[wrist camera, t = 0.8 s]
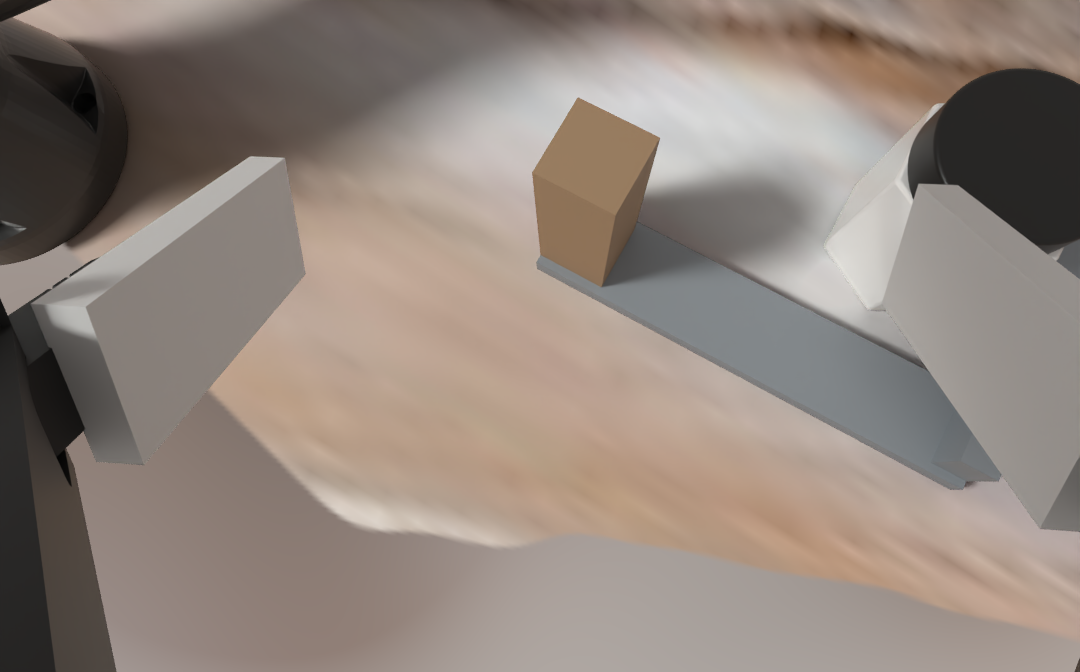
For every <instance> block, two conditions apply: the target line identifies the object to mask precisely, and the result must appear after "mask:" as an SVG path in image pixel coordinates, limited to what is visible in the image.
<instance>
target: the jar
mask: <svg viewBox="0 0 1080 672" xmlns="http://www.w3.org/2000/svg"><path fill="white" fill-rule="evenodd" d="M918 184H940V185H958V186H960V187H961V188H962V189H963V190H965V191H966V192H967V193H969V194H970V195H971V196H972V197H974V198H975V199H976V200H978V201H979V202H980V203H982V204H983V205H984V206H985V207H987V208H988V209H989V210H991V211H992V212H993V213H995V214H996V215H997V216H998V217H1000V218H1001V219H1002V220H1004V221H1005V222H1006V223H1007V224H1009V225H1010V226H1011V227H1013V228H1014V229H1015V230H1017V231H1018V232H1019V233H1020V234H1022V235H1023V236H1024V237H1026V238H1027V239H1028V240H1029V241H1031V242H1032V243H1033V244H1035V245H1036V246H1037V247H1039V248H1040V249H1041V250H1042V251H1044V252H1045V253H1046V254H1048V255H1049V256H1050V257H1051V258H1053V259H1054V260H1055V261H1057V260H1058V259H1059V257H1060V255H1061V253H1062V251H1063V248H1064V247H1065V246H1067V245H1069V244H1071V243H1073V242H1076V241H1078V240H1080V84H1078V83H1076V82H1074V81H1072V80H1070V79H1068V78H1066V77H1063V76H1060V75H1058V74H1055V73H1051V72H1047V71H1042V70H1036V69H1006V70H1000V71H996V72H992V73H988V74H986V75H983V76H981V77H979V78H977V79H975V80H973V81H971V82H969V83H968V84H966V85H965V86H963V87H962V88H961V89H960V90H958V91H957V92H956V93H955V94H954V95H953V96H952V97H951V98H950V99H949V100H948V101H947V102H946V103H937V104H935V105H933V106H932V107H931V108H930V109H929V111H928V112H927V113H926V114H925V115H924V116H923V117H922V118H921V119H920V120H919V121H918V122H917V123H916V124H915V125H914V126H913V127H912V128H911V129H910V130H909V131H908V132H907V133H906V134H905V135H904V136H903V137H902V138H901V139H900V140H899V141H898V142H897V143H896V144H895V145H894V146H893V147H892V148H891V149H890V150H889V151H888V152H887V153H886V154H885V155H884V156H883V157H882V158H881V159H880V160H879V161H878V162H877V163H876V164H875V165H874V167H873V168H872V169H871V170H870V171H869V172H868V173H867V174H866V175H865V176H864V177H863V178H862V179H861V180H860V181H859V182H858V183H857V184H856V185H855V187H854V189H853V190H852V192H851V194H850V196H849V198H848V200H847V202H846V204H845V206H844V207H843V209H842V211H841V213H840V215H839V217H838V219H837V221H836V223H835V224H834V226H833V228H832V230H831V232H830V234H829V236H828V238H827V239H826V241H825V243H824V248H825V250H826V251H827V253H828V254H829V256H830V257H831V258H832V260H833V261H834V263H835V264H836V266H837V267H838V268H839V270H840V271H841V273H842V274H843V276H844V277H845V279H846V280H847V281H848V283H849V284H850V286H851V287H852V289H853V290H854V291H855V293H856V294H857V296H858V297H859V299H860V300H861V301H862V303H863V304H864V306H865V307H866V308H867V309H868V310H871V311H884V310H886V309H885V308H884V307H883V305H882V301H883V298H884V295H885V291H886V288H887V285H888V282H889V278H890V275H891V272H892V268H893V265H894V262H895V259H896V255H897V252H898V249H899V246H900V242H901V239H902V236H903V233H904V229H905V226H906V223H907V220H908V216H909V213H910V210H911V207H912V203H913V200H914V197H915V194H916V190H917V187H918Z"/></svg>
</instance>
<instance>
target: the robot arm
mask: <svg viewBox="0 0 1080 672" xmlns="http://www.w3.org/2000/svg"><path fill="white" fill-rule="evenodd" d="M48 1H51V0H0V265H5V264H11V263H16V262H21V261H24V260H28V259H31V258H34V257H37V256H39V255H41V254H44V253H46V252H48V251H50V250H52V249H54V248H55V247H57V246H59V245H61V244H62V243H64V242H65V241H67V240H68V239H70V238H71V237H73V236H74V235H75V234H76V233H78V232H79V231H80V230H81V229H82V228H83V227H85V226H86V225H87V224H88V223H89V222H90V221H91V220H92V219H93V217H94V216H95V215H96V214H97V213H98V212H99V210H100V209H101V208H102V206H103V205H104V204H105V202H106V201H107V199H108V198H109V196H110V194H111V193H112V191H113V189H114V187H115V185H116V183H117V181H118V178H119V176H120V173H121V170H122V167H123V164H124V159H125V155H126V149H127V123H126V117H125V113H124V109H123V106H122V103H121V100H120V98H119V96H118V94H117V92H116V90H115V88H114V87H113V85H112V84H111V82H110V81H109V80H108V79H107V77H106V76H105V75H104V74H103V73H102V72H101V71H100V70H99V69H98V68H97V67H95V66H94V65H93V64H92V63H91V62H90V61H89V60H88V59H86V58H85V57H84V56H83V55H82V54H81V53H80V52H78V51H77V50H76V49H75V48H73V47H72V46H71V45H69V44H68V43H66V42H65V41H63V40H61V39H60V38H58V37H56V36H54V35H52V34H50V33H48V32H46V31H43V30H41V29H38V28H36V27H34V26H31V25H29V24H26V23H24V22H22V21H19V20H17V19H14V18H12V17H14V16H16V15H18V14H21V13H23V12H25V11H28V10H30V9H32V8H35V7H37V6H39V5H41V4H44V3H46V2H48ZM305 274H306V273H305V268H304V262H303V256H302V251H301V245H300V240H299V234H298V228H297V223H296V217H295V211H294V206H293V200H292V195H291V189H290V183H289V178H288V172H287V167H286V161H285V158H278V157H254V156H250V157H249V158H247V159H246V160H244V161H243V162H241V163H240V164H238V165H237V166H235V167H234V168H232V169H231V170H229V171H228V172H226V173H225V174H223V175H222V176H220V177H219V178H217V179H216V180H214V181H213V182H211V183H210V184H208V185H207V186H205V187H204V188H202V189H201V190H199V191H198V192H196V193H195V194H193V195H192V196H190V197H189V198H187V199H186V200H184V201H183V202H181V203H180V204H178V205H177V206H176V207H174V208H173V209H171V210H170V211H168V212H167V213H165V214H164V215H162V216H161V217H159V218H158V219H156V220H155V221H153V222H152V223H150V224H149V225H147V226H146V227H144V228H143V229H141V230H140V231H138V232H137V233H135V234H134V235H132V236H131V237H129V238H128V239H126V240H125V241H123V242H122V243H120V244H119V245H117V246H116V247H114V248H113V249H111V250H110V251H108V252H107V253H105V254H104V255H103V256H101V257H99V258H96V259H94V260H91V261H90V262H88V263H87V264H85V265H84V266H82V267H81V268H79V269H78V270H76V271H75V272H73V273H72V274H70V278H64V279H63V280H61V281H60V282H58V283H57V284H55V285H54V286H53V289H48V290H46V291H45V292H43V293H42V294H40V295H39V296H37V297H36V298H34V299H33V300H31V301H30V302H28V303H27V304H25V305H24V306H22V307H21V308H19V309H18V310H16V311H15V312H13V313H11V314H10V315H9V316H8V315H7V313H6V311H5V308H4V306H3V304H2V302H1V299H0V672H116V668H115V663H114V658H113V653H112V648H111V643H110V638H109V633H108V629H107V624H106V619H105V614H104V609H103V604H102V600H101V594H100V590H99V585H98V580H97V575H96V570H95V565H94V561H93V556H92V551H91V546H90V542H89V536H88V531H87V527H86V522H85V517H84V512H83V508H82V502H81V497H80V493H79V488H78V483H77V478H76V473H75V468H74V465H73V463H72V461H71V458H70V456H69V454H68V452H67V449H66V447H67V446H68V445H69V444H70V443H71V442H72V441H73V440H74V439H76V438H77V436H78V435H80V434H81V433H82V432H83V431H84V434H85V436H86V438H87V441H88V443H89V446H90V448H91V450H92V453H93V455H94V458H95V460H96V462H108V463H123V464H137V465H145V463H146V462H147V461H148V459H150V457H151V456H152V455H153V454H154V453H155V451H156V450H157V449H158V448H159V447H160V446H161V444H162V443H163V442H164V441H165V440H166V439H167V437H168V436H169V435H170V434H171V433H172V431H173V430H174V429H175V428H176V427H177V426H178V424H179V423H180V422H181V421H182V420H183V418H184V417H185V416H186V415H187V414H188V412H189V411H190V410H191V409H192V408H193V407H194V405H195V404H196V403H197V402H198V401H199V400H200V398H201V397H202V396H203V395H204V394H205V392H206V391H207V390H208V389H209V388H210V387H211V385H212V384H213V383H214V382H215V381H216V379H217V378H218V377H219V376H220V375H221V374H222V372H223V371H224V370H225V369H226V368H227V366H228V365H229V364H230V363H231V362H232V361H233V359H234V358H235V357H236V356H237V355H238V353H239V352H240V351H241V350H242V349H243V347H244V346H245V345H246V344H247V343H248V342H249V340H250V339H251V338H252V337H253V336H254V334H255V333H256V332H257V331H258V330H259V329H260V327H261V326H262V325H263V324H264V323H265V321H266V320H267V319H268V318H269V317H270V316H271V314H272V313H273V312H274V311H275V310H276V308H277V307H278V306H279V305H280V304H281V303H282V301H283V300H284V299H285V298H286V297H287V295H288V294H289V293H290V292H291V291H292V290H293V288H294V287H295V286H296V285H297V284H298V282H299V281H300V280H301V279H302V278H303V277H304V275H305ZM882 305H883V307H884V308H885V309H886V311H887V312H888V314H889V315H890V316H891V318H892V319H893V321H894V322H895V324H896V325H897V326H898V328H899V329H900V331H901V332H902V334H903V335H904V336H905V338H906V339H907V341H908V342H909V344H910V345H911V346H912V348H913V349H914V351H915V352H916V353H917V355H918V356H919V358H920V359H921V361H922V362H923V363H924V365H925V366H926V368H927V369H928V371H929V372H930V373H931V375H932V376H933V378H934V379H935V381H936V382H937V383H938V385H939V386H940V388H941V389H942V390H943V392H944V393H945V395H946V396H947V398H948V399H949V400H950V402H951V403H952V405H953V406H954V408H955V409H956V410H957V412H958V413H959V415H960V416H961V418H962V419H963V420H964V422H965V423H966V425H967V426H968V427H969V429H970V430H971V432H972V433H973V435H974V436H975V437H976V439H977V440H978V442H979V443H980V445H981V446H982V447H983V449H984V450H985V452H986V453H987V455H988V456H989V457H990V459H991V460H992V462H993V463H994V464H995V466H996V467H997V469H998V470H999V472H1000V473H1001V474H1002V476H1003V477H1004V479H1005V480H1006V482H1007V483H1008V484H1009V486H1010V487H1011V489H1012V490H1013V491H1014V493H1015V494H1016V496H1017V497H1018V499H1019V500H1020V501H1021V503H1022V504H1023V506H1024V507H1025V509H1026V510H1027V511H1028V513H1029V514H1030V516H1031V517H1032V519H1033V520H1034V521H1035V523H1036V524H1037V526H1038V527H1039V528H1040V529H1050V530H1064V531H1078V532H1080V279H1079V278H1077V277H1076V276H1075V275H1074V274H1072V273H1071V272H1070V271H1068V270H1067V269H1066V268H1064V267H1063V266H1062V265H1061V264H1059V263H1058V262H1057V261H1055V260H1054V259H1053V258H1051V257H1050V256H1049V255H1048V254H1046V253H1045V252H1044V251H1042V250H1041V249H1040V248H1039V247H1037V246H1036V245H1035V244H1033V243H1032V242H1031V241H1029V240H1028V239H1027V238H1026V237H1024V236H1023V235H1022V234H1020V233H1019V232H1018V231H1017V230H1015V229H1014V228H1013V227H1011V226H1010V225H1009V224H1007V223H1006V222H1005V221H1004V220H1002V219H1001V218H1000V217H998V216H997V215H996V214H995V213H993V212H992V211H991V210H989V209H988V208H987V207H985V206H984V205H983V204H982V203H980V202H979V201H978V200H976V199H975V198H974V197H972V196H971V195H970V194H969V193H967V192H966V191H965V190H963V189H962V188H961V187H960V186H958V185H940V184H918V187H917V190H916V194H915V197H914V200H913V203H912V207H911V210H910V213H909V216H908V220H907V223H906V226H905V229H904V233H903V236H902V239H901V242H900V246H899V249H898V252H897V255H896V259H895V262H894V265H893V268H892V272H891V275H890V278H889V282H888V285H887V288H886V291H885V295H884V298H883V301H882ZM1075 672H1080V659H1079V661H1078V664H1077V667H1076V670H1075Z"/></svg>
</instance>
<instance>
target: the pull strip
mask: <svg viewBox="0 0 1080 672" xmlns="http://www.w3.org/2000/svg"><path fill="white" fill-rule="evenodd" d="M659 140H660V138H659V137H657V136H655V135H653V134H651V133H649V132H647V131H645V130H643V129H641V128H639V127H637V126H635V125H633V124H631V123H629V122H627V121H625V120H623V119H621V118H619V117H617V116H615V115H613V114H611V113H609V112H607V111H605V110H603V109H601V108H598V107H596V106H594V105H592V104H590V103H588V102H586V101H584V100H582V99H580V98H577V100H576V101H575V103H574V105H573V106H572V108H571V110H570V111H569V113H568V115H567V116H566V118H565V120H564V121H563V123H562V124H561V126H560V128H559V129H558V131H557V133H556V134H555V136H554V138H553V139H552V141H551V143H550V144H549V146H548V148H547V149H546V151H545V152H544V154H543V156H542V157H541V159H540V161H539V162H538V164H537V166H536V167H535V169H534V171H533V172H532V174H533V184H534V194H535V204H536V214H537V223H538V233H539V243H540V253H541V256H540V257H539V259H538V261H537V269H539V270H541V271H543V272H545V273H546V274H548V275H550V276H552V277H554V278H556V279H558V280H560V281H561V282H563V283H565V284H567V285H569V286H571V287H573V288H574V289H576V290H578V291H580V292H582V293H584V294H586V295H588V296H589V297H591V298H593V299H595V300H597V301H599V302H601V303H603V304H604V305H606V306H608V307H610V308H612V309H614V310H616V311H617V312H619V313H621V314H623V315H625V316H627V317H629V318H631V319H632V320H634V321H636V322H638V323H640V324H642V325H644V326H646V327H647V328H649V329H651V330H653V331H655V332H657V333H659V334H660V335H662V336H664V337H666V338H668V339H670V340H672V341H674V342H675V343H677V344H679V345H681V346H683V347H685V348H687V349H689V350H690V351H692V352H694V353H696V354H698V355H700V356H702V357H704V358H705V359H707V360H709V361H711V362H713V363H715V364H717V365H718V366H720V367H722V368H724V369H726V370H728V371H730V372H732V373H733V374H735V375H737V376H739V377H741V378H743V379H745V380H747V381H748V382H750V383H752V384H754V385H756V386H758V387H760V388H761V389H763V390H765V391H767V392H769V393H771V394H773V395H775V396H776V397H778V398H780V399H782V400H784V401H786V402H788V403H790V404H791V405H793V406H795V407H797V408H799V409H801V410H803V411H804V412H806V413H808V414H810V415H812V416H814V417H816V418H818V419H819V420H821V421H823V422H825V423H827V424H829V425H831V426H833V427H834V428H836V429H838V430H840V431H842V432H844V433H846V434H847V435H849V436H851V437H853V438H855V439H857V440H859V441H861V442H862V443H864V444H866V445H868V446H870V447H872V448H874V449H876V450H877V451H879V452H881V453H883V454H885V455H887V456H889V457H890V458H892V459H894V460H896V461H898V462H900V463H902V464H904V465H905V466H907V467H909V468H911V469H913V470H915V471H917V472H919V473H920V474H922V475H924V476H926V477H928V478H930V479H932V480H933V481H935V482H937V483H939V484H941V485H943V486H945V487H947V488H948V489H950V490H963V488H964V486H965V483H966V481H999V479H1000V477H1001V475H1002V474H1001V473H1000V472H999V470H998V469H997V467H996V466H995V464H994V463H993V462H992V460H991V459H990V457H989V456H988V455H987V453H986V452H985V450H984V449H983V447H982V446H981V445H980V443H979V442H978V440H977V439H976V437H975V436H974V435H973V433H972V432H971V430H970V429H969V427H968V426H967V425H966V423H965V422H964V420H963V419H962V418H961V416H960V415H959V413H958V412H957V410H956V409H955V408H954V406H953V405H952V403H951V402H950V400H949V399H948V398H947V396H946V395H945V393H944V392H943V390H942V389H941V388H940V386H939V385H938V383H937V382H936V381H935V379H934V378H933V376H932V375H931V373H930V372H929V371H927V370H925V369H923V368H921V367H919V366H917V365H915V364H913V363H911V362H909V361H908V360H906V359H904V358H902V357H900V356H898V355H896V354H894V353H892V352H890V351H888V350H886V349H884V348H882V347H880V346H878V345H876V344H874V343H872V342H871V341H869V340H867V339H865V338H863V337H861V336H859V335H857V334H855V333H853V332H851V331H849V330H847V329H845V328H843V327H841V326H839V325H837V324H835V323H834V322H832V321H830V320H828V319H826V318H824V317H822V316H820V315H818V314H816V313H814V312H812V311H810V310H808V309H806V308H804V307H802V306H800V305H798V304H797V303H795V302H793V301H791V300H789V299H787V298H785V297H783V296H781V295H779V294H777V293H775V292H773V291H771V290H769V289H767V288H765V287H763V286H762V285H760V284H758V283H756V282H754V281H752V280H750V279H748V278H746V277H744V276H742V275H740V274H738V273H736V272H734V271H732V270H730V269H728V268H726V267H725V266H723V265H721V264H719V263H717V262H715V261H713V260H711V259H709V258H707V257H705V256H703V255H701V254H699V253H697V252H695V251H693V250H691V249H689V248H688V247H686V246H684V245H682V244H680V243H678V242H676V241H674V240H672V239H670V238H668V237H666V236H664V235H662V234H660V233H658V232H656V231H654V230H652V229H651V228H649V227H647V226H645V225H643V224H641V223H639V222H637V219H638V215H639V211H640V208H641V204H642V201H643V197H644V194H645V190H646V186H647V183H648V179H649V176H650V172H651V169H652V165H653V161H654V158H655V154H656V151H657V147H658V144H659ZM1057 262H1058V263H1059V264H1061V265H1062V266H1063V267H1064V268H1066V269H1067V270H1068V271H1070V272H1071V273H1072V274H1074V275H1075V276H1076V277H1077V278H1079V279H1080V240H1078V241H1076V242H1073V243H1071V244H1069V245H1067V246H1065V247H1064V248H1063V251H1062V253H1061V255H1060V257H1059V259H1058V260H1057Z"/></svg>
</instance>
